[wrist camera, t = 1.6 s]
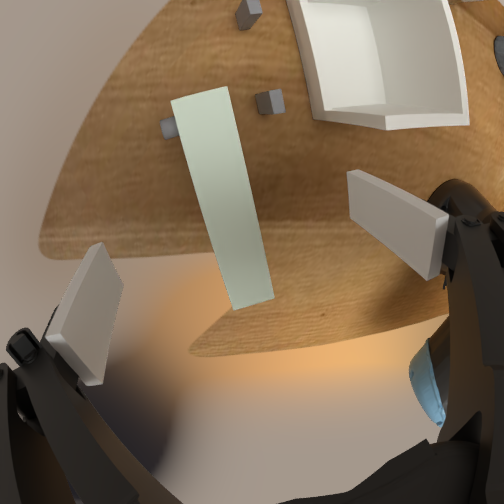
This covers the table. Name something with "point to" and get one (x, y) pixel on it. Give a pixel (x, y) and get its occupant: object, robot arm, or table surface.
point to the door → (223, 191)
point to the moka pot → (500, 52)
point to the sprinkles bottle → (460, 1)
